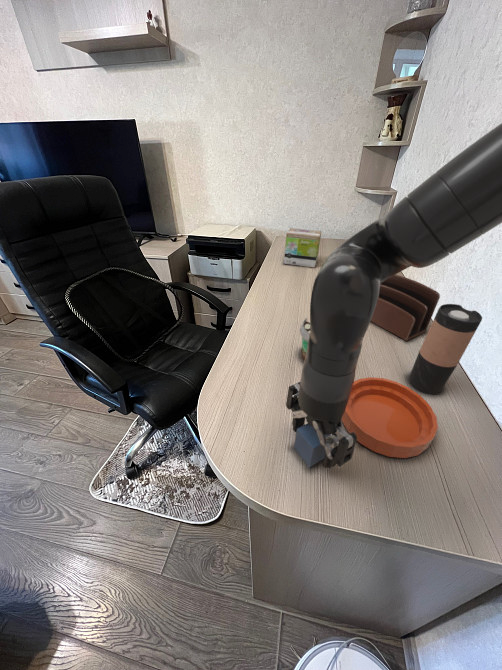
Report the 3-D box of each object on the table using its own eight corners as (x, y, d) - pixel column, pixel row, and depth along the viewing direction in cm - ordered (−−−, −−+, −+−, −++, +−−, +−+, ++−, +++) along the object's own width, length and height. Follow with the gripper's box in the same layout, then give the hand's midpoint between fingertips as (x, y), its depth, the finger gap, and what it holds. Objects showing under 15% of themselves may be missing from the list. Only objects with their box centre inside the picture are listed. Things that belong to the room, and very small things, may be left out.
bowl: (448, 433, 56) (456, 420, 54) (391, 476, 49) (398, 464, 46) (376, 380, 68) (380, 367, 66) (322, 408, 61) (325, 395, 59)
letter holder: (373, 305, 100) (383, 268, 92) (426, 332, 86) (444, 290, 78) (353, 312, 95) (363, 274, 87) (406, 342, 81) (423, 299, 73)
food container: (287, 357, 76) (290, 326, 70) (300, 347, 79) (304, 317, 74) (327, 378, 69) (334, 346, 63) (339, 366, 72) (347, 335, 67)
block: (327, 456, 52) (333, 436, 48) (309, 468, 50) (313, 448, 46) (311, 438, 55) (316, 418, 51) (293, 448, 53) (296, 428, 50)
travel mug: (412, 393, 65) (447, 320, 53) (403, 371, 71) (433, 302, 60) (448, 397, 64) (491, 324, 52) (435, 374, 70) (471, 305, 59)
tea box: (283, 264, 133) (285, 232, 124) (287, 257, 140) (289, 227, 132) (315, 268, 129) (319, 235, 121) (317, 261, 137) (321, 230, 128)
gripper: (381, 404, 38) (356, 468, 48) (313, 349, 49) (303, 411, 58) (342, 427, 35) (323, 491, 45) (278, 364, 45) (273, 426, 55)
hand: (312, 445), depth 51 cm, fingers open, 8 cm apart
